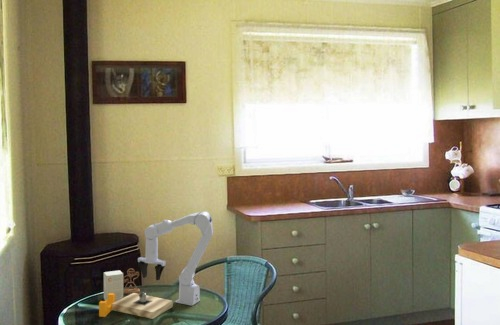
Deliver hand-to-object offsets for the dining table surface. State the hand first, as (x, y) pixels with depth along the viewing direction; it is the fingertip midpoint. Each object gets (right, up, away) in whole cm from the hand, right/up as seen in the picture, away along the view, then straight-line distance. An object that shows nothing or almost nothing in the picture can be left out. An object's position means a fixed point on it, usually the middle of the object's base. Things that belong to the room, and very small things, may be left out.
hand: (151, 278), depth 244 cm
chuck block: (-2, -11, -10) cm, 15 cm away
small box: (-18, -10, 0) cm, 21 cm away
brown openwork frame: (-12, -9, +11) cm, 19 cm away
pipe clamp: (-18, -12, -15) cm, 26 cm away
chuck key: (-2, -11, -10) cm, 15 cm away
